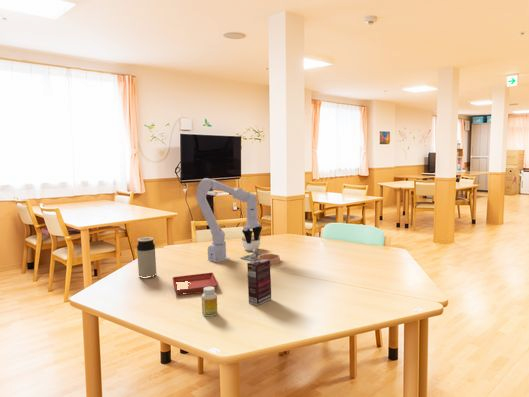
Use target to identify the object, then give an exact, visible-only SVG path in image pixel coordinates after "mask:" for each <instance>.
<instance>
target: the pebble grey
mask: <svg viewBox="0 0 529 397" xmlns="http://www.w3.org/2000/svg"><path fill="white" fill-rule="evenodd" d="M248 255H249V257H250V259H255V258H256V254H255V253H252V252H251V253H249V254H248Z"/></svg>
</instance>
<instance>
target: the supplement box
mask: <svg viewBox="0 0 529 397" xmlns="http://www.w3.org/2000/svg"><path fill="white" fill-rule="evenodd" d="M246 264H247V266H246V267H247V286H248V287H247V289H248V292H247V294H248V304H250V305H253V304H254V306H256V305H257V307H258V306H261V305H262V304H264V303H266V302H268V301H270V300H272V281H271V280H272V279H271V265H270V260H268V259H262V258H261V259H258V260H255V261H249V262H246Z"/></svg>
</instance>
